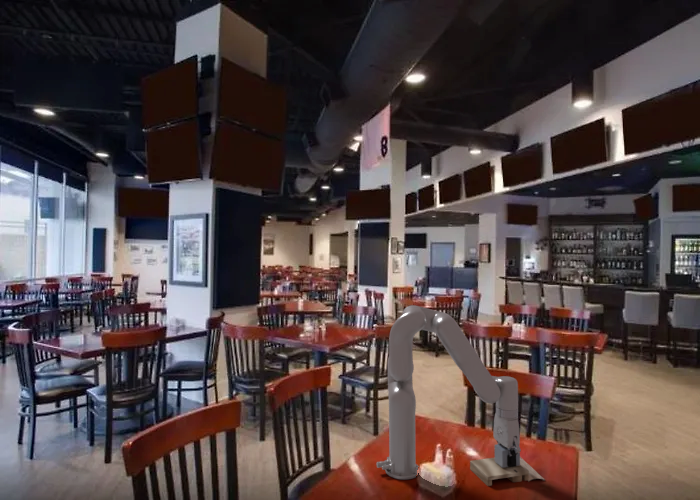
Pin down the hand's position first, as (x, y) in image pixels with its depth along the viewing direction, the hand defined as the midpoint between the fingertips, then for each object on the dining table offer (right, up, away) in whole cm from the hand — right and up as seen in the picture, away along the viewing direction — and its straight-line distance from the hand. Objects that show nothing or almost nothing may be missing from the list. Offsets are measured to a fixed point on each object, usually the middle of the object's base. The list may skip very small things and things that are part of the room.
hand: (507, 461), depth 161 cm
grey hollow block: (0, -1, 0) cm, 1 cm away
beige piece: (+6, -5, +6) cm, 10 cm away
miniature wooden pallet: (-3, -4, -1) cm, 5 cm away
